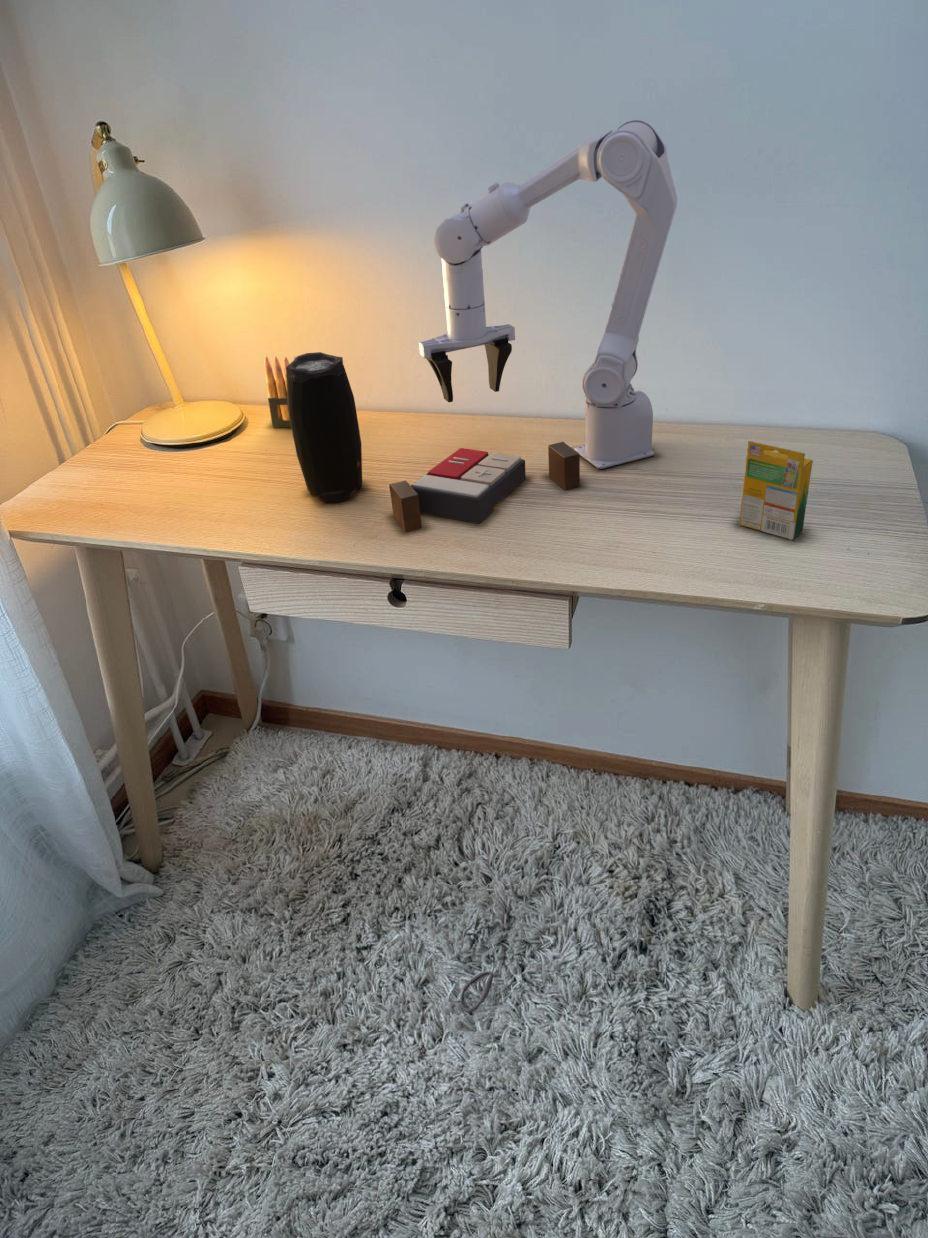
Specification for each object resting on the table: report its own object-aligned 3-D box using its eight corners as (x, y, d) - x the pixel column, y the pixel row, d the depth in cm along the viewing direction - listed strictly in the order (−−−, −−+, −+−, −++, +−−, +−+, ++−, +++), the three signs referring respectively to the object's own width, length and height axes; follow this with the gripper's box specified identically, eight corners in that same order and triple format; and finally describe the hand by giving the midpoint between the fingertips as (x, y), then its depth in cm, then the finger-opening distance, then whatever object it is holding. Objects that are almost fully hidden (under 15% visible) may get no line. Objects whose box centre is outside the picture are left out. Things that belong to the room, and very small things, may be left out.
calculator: (526, 454, 132) (478, 494, 120) (526, 482, 134) (479, 524, 123) (459, 444, 136) (406, 482, 125) (460, 471, 138) (409, 511, 127)
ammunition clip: (272, 426, 158) (258, 357, 151) (276, 422, 159) (263, 354, 152) (329, 428, 155) (318, 358, 148) (333, 424, 156) (322, 355, 150)
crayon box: (803, 531, 115) (816, 445, 108) (792, 541, 113) (805, 454, 107) (749, 516, 119) (758, 432, 113) (738, 525, 117) (747, 440, 111)
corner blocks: (563, 473, 134) (563, 441, 131) (579, 486, 130) (579, 453, 127) (393, 516, 127) (388, 484, 124) (405, 532, 123) (401, 498, 120)
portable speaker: (379, 486, 135) (360, 355, 124) (330, 511, 129) (306, 377, 118) (341, 472, 140) (320, 345, 129) (292, 495, 134) (266, 365, 123)
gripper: (499, 289, 137) (504, 377, 145) (408, 306, 133) (418, 396, 141) (519, 299, 132) (523, 390, 139) (425, 318, 128) (434, 411, 135)
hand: (471, 394), depth 140 cm, fingers open, 7 cm apart
